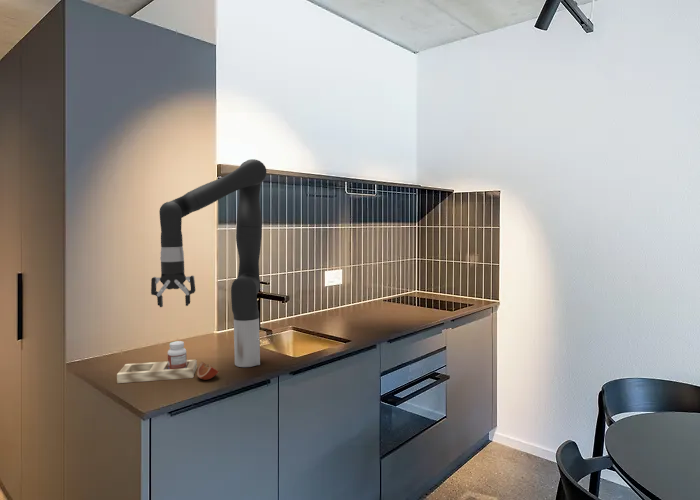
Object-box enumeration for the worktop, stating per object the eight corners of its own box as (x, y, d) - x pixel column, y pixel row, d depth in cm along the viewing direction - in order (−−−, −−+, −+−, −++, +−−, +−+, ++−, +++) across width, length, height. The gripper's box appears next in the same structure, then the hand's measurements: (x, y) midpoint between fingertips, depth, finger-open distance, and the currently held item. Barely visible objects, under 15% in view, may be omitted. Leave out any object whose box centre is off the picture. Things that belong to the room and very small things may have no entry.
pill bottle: (171, 371, 166) (170, 340, 165) (188, 370, 167) (187, 340, 166) (166, 377, 160) (164, 345, 159) (184, 376, 161) (183, 344, 160)
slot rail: (196, 367, 170) (196, 359, 170) (193, 377, 159) (192, 369, 159) (126, 372, 165) (125, 364, 165) (117, 383, 155) (116, 374, 154)
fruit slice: (193, 377, 160) (193, 363, 160) (212, 373, 164) (211, 359, 164) (203, 384, 154) (202, 369, 153) (222, 379, 158) (222, 365, 157)
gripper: (195, 258, 166) (196, 303, 168) (152, 259, 163) (154, 305, 165) (192, 260, 159) (194, 307, 160) (148, 261, 156) (150, 309, 157)
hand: (174, 306), depth 162 cm, fingers open, 8 cm apart
